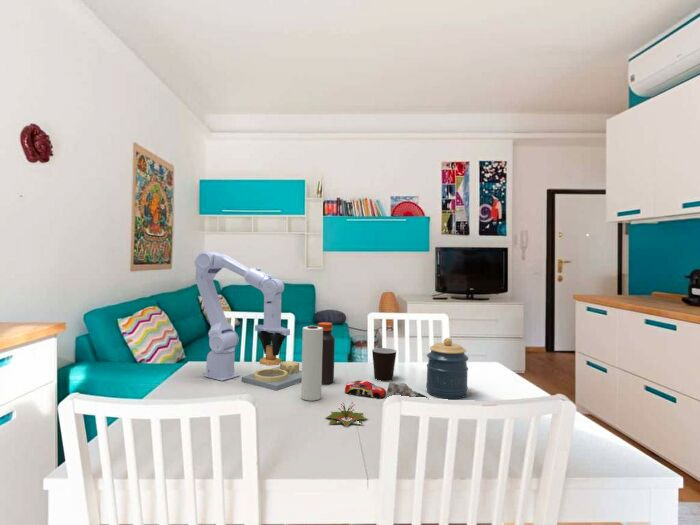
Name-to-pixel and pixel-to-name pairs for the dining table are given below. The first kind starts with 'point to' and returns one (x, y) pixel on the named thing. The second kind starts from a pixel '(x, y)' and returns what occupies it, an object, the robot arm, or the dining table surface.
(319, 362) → the paper towel roll
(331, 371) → the bottle
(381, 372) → the coffee mug
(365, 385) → the race car
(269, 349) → the planet gear
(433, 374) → the canister
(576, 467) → the dining table surface
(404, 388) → the camouflage cap
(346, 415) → the lily flower
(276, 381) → the carrier plate
